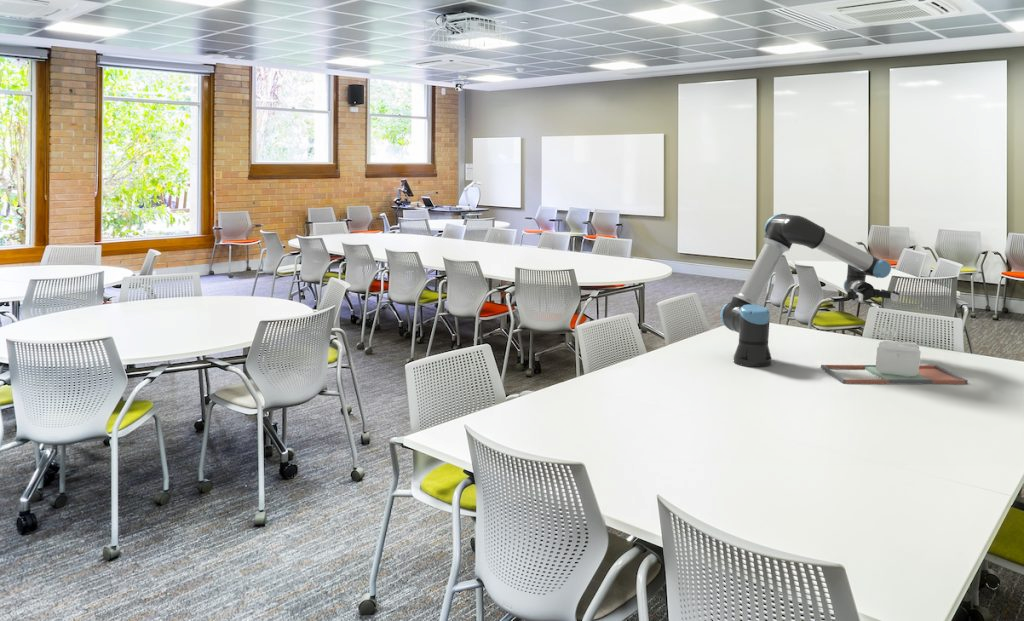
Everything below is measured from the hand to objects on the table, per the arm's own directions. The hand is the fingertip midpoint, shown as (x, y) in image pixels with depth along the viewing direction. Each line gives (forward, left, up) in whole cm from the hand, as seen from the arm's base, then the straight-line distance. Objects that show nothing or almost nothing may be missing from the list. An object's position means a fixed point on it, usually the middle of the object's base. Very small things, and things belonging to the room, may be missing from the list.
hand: (879, 298), depth 316 cm
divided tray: (0, -15, -28) cm, 32 cm away
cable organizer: (+2, -15, -27) cm, 31 cm away
